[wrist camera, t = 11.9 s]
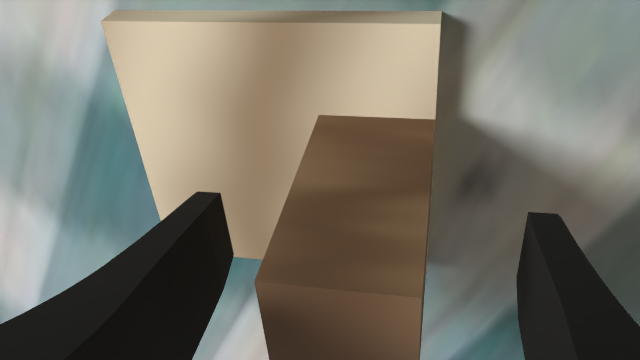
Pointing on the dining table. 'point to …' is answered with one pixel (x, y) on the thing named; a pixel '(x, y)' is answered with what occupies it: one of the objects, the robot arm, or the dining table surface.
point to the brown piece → (298, 158)
